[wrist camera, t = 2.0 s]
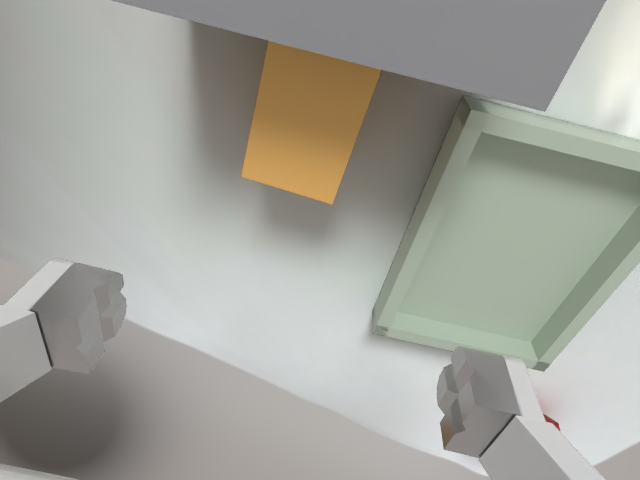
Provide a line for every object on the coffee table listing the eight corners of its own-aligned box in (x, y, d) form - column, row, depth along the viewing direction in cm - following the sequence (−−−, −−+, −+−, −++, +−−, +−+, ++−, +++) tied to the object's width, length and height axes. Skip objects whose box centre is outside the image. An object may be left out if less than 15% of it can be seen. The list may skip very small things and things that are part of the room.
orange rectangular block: (261, 144, 27) (238, 189, 22) (315, -99, 20) (299, -111, 15) (334, 167, 28) (327, 216, 23) (415, -62, 20) (429, -62, 15)
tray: (372, 310, 35) (372, 333, 33) (462, 95, 24) (471, 109, 22) (533, 346, 35) (543, 371, 33) (689, 153, 25) (718, 172, 23)
